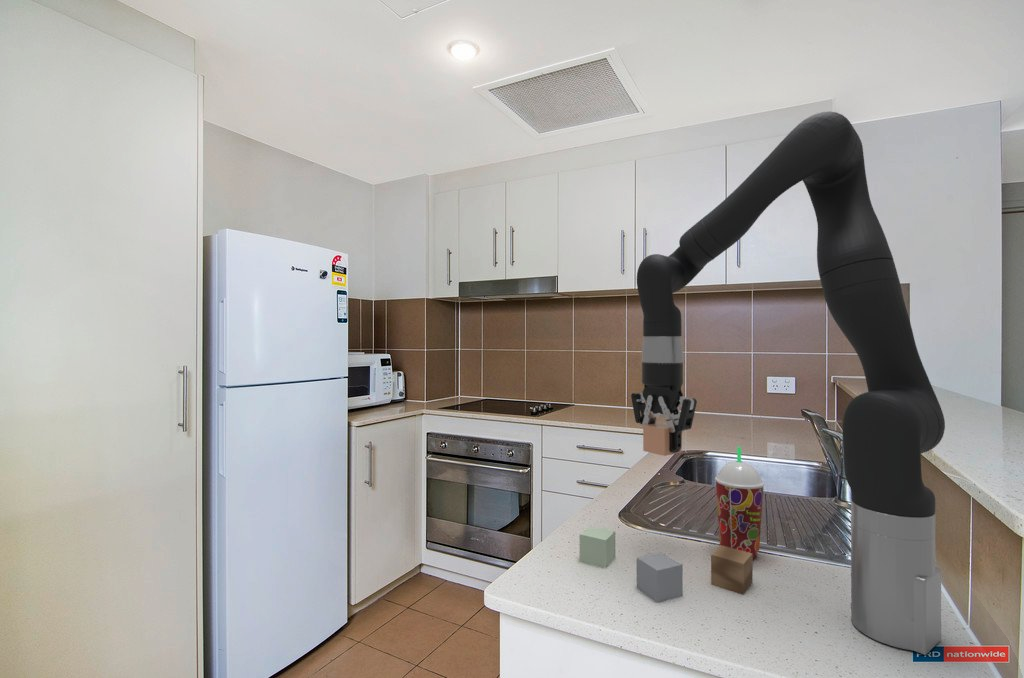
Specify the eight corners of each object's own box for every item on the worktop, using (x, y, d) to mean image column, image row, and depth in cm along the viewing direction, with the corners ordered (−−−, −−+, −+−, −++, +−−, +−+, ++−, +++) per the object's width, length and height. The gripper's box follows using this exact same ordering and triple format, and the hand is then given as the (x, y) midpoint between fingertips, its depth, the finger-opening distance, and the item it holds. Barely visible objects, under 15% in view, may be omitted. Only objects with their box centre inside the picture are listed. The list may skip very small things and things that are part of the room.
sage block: (615, 557, 91) (615, 530, 91) (605, 568, 87) (605, 540, 87) (589, 551, 94) (590, 525, 94) (579, 561, 90) (579, 534, 90)
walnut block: (752, 583, 82) (752, 553, 82) (743, 595, 78) (743, 563, 78) (721, 574, 85) (721, 545, 85) (711, 585, 81) (711, 554, 81)
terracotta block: (681, 452, 94) (681, 426, 94) (664, 455, 91) (664, 428, 91) (660, 447, 98) (660, 422, 98) (643, 450, 95) (643, 424, 95)
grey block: (682, 596, 77) (682, 564, 78) (657, 603, 75) (657, 570, 76) (661, 582, 82) (661, 552, 82) (636, 588, 80) (636, 557, 80)
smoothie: (758, 567, 87) (758, 454, 87) (709, 554, 92) (709, 447, 92) (767, 551, 94) (767, 446, 94) (721, 540, 99) (721, 440, 99)
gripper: (707, 361, 91) (707, 454, 91) (646, 358, 102) (646, 440, 102) (681, 362, 86) (681, 459, 86) (620, 359, 98) (620, 445, 98)
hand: (662, 448), depth 94 cm, fingers closed on terracotta block, 5 cm apart
